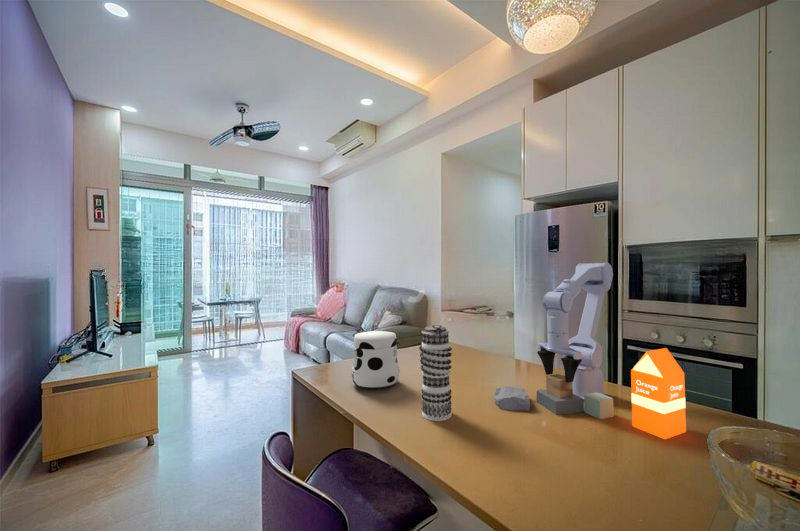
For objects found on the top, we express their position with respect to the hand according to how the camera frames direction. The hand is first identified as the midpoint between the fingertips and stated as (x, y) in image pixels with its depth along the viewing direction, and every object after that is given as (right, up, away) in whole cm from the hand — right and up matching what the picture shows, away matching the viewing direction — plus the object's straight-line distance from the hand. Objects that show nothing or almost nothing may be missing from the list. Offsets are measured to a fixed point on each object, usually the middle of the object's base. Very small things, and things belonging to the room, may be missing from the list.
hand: (559, 377), depth 100 cm
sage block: (+8, -8, -6) cm, 13 cm away
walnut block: (0, -5, 0) cm, 5 cm away
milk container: (-56, -10, +22) cm, 61 cm away
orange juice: (+18, -8, -15) cm, 25 cm away
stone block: (-13, -9, +4) cm, 16 cm away
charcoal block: (0, -9, 0) cm, 9 cm away
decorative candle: (-37, -9, -4) cm, 38 cm away
